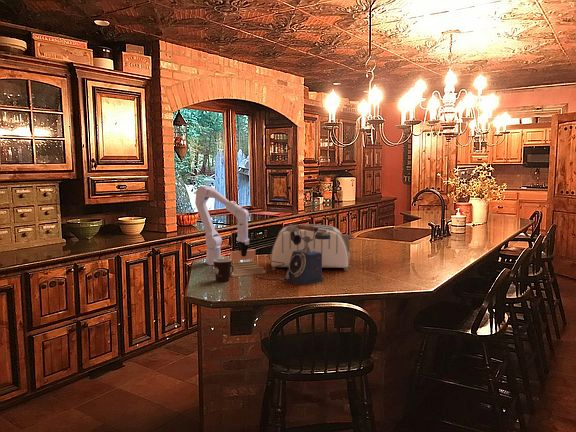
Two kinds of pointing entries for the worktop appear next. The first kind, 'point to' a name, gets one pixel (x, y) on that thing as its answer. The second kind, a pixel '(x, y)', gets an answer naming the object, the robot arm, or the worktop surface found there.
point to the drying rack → (246, 269)
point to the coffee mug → (222, 269)
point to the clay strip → (237, 256)
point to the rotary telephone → (303, 258)
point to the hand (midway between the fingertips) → (242, 255)
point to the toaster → (313, 247)
